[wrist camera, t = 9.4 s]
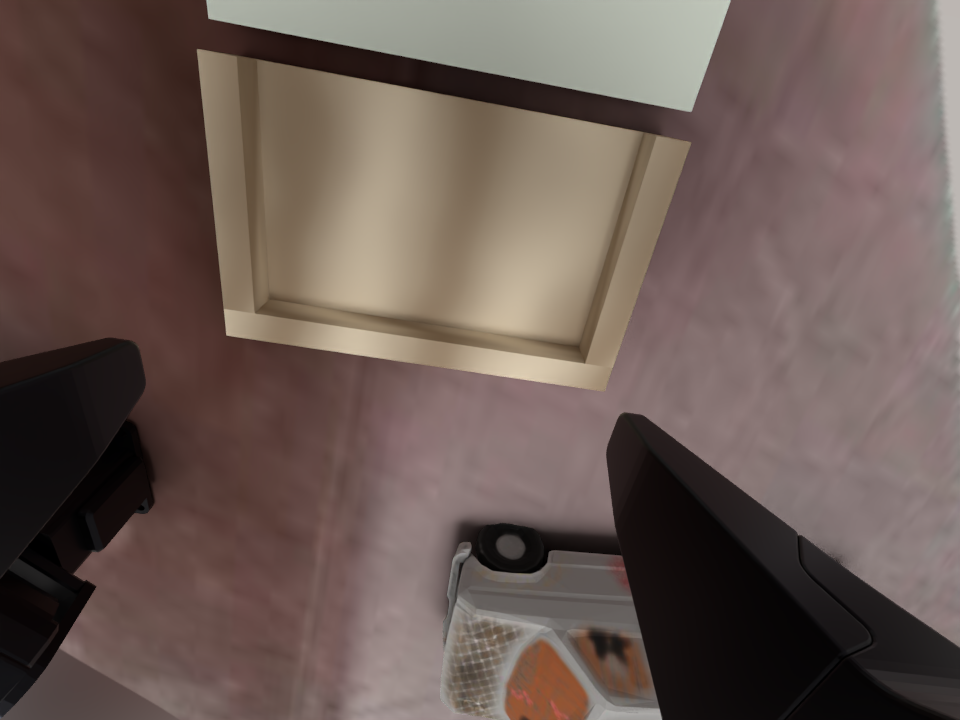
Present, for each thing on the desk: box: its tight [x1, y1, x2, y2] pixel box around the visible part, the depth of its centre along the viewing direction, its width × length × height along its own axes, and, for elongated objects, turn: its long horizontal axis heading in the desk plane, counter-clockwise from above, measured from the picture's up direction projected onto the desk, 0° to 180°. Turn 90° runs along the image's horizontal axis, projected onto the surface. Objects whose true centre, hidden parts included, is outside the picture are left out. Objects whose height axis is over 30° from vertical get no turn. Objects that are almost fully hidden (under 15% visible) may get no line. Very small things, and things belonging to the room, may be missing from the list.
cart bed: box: [197, 49, 692, 392], centre depth 19 cm, size 16×10×3 cm, turn 81°
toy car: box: [440, 523, 662, 720], centre depth 28 cm, size 11×25×10 cm, turn 83°
